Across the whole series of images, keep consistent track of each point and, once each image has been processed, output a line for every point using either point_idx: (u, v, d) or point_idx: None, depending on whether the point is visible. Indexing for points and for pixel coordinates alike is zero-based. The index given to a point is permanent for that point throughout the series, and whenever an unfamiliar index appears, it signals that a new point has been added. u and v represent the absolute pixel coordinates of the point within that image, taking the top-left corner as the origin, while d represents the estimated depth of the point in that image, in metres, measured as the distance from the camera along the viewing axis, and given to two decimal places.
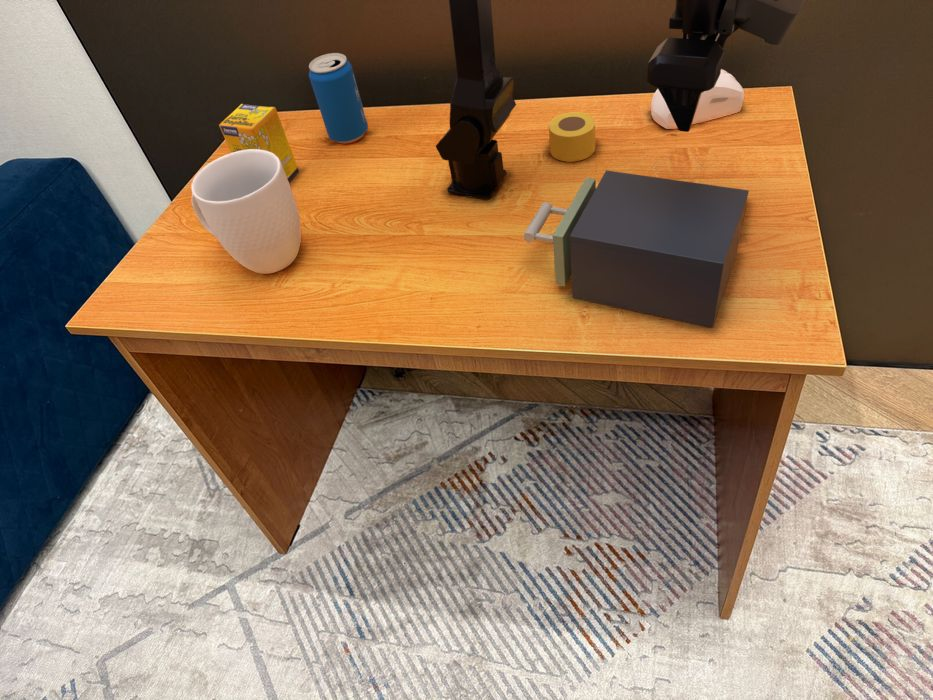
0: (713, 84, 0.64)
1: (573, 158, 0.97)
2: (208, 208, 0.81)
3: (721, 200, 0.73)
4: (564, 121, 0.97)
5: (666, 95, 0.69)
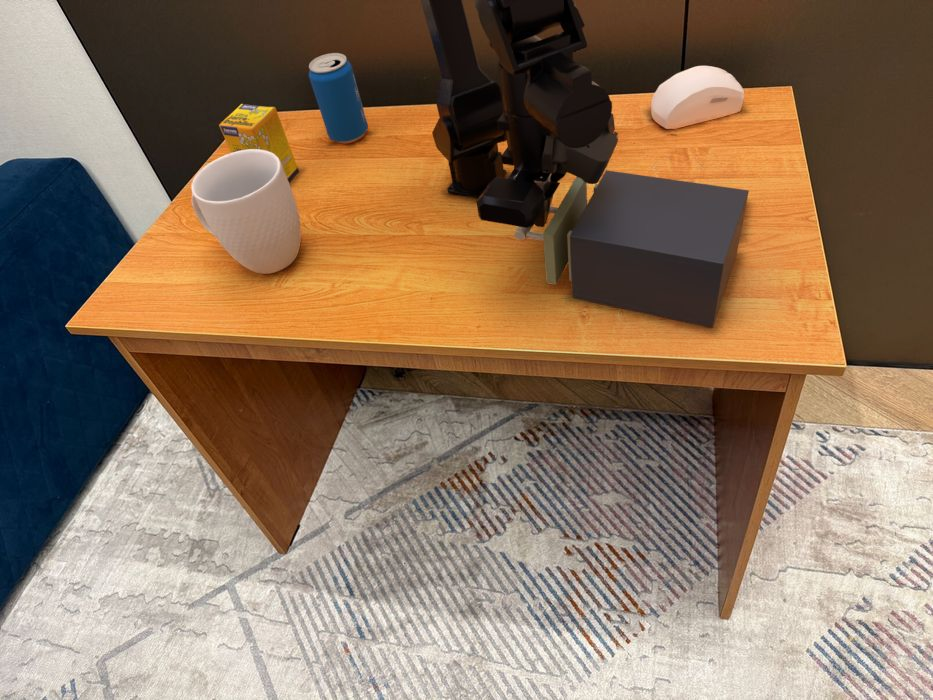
0: (532, 223, 0.70)
1: None
2: (208, 208, 0.81)
3: (721, 200, 0.73)
4: None
5: None
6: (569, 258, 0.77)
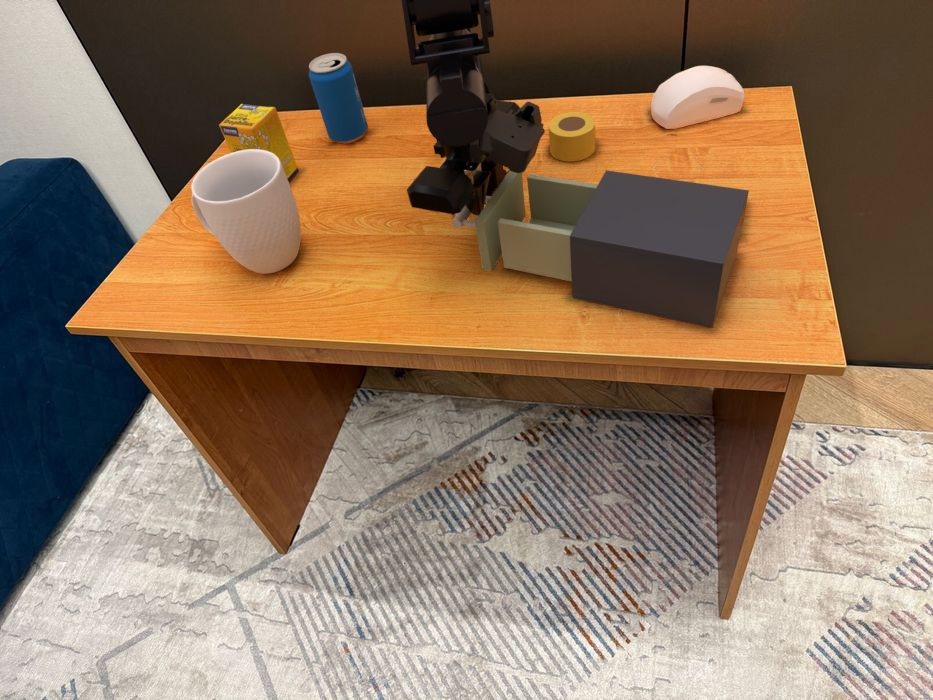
0: (459, 210, 0.73)
1: (573, 158, 0.97)
2: (208, 208, 0.81)
3: (721, 200, 0.73)
4: (564, 121, 0.97)
5: None
6: (501, 245, 0.80)
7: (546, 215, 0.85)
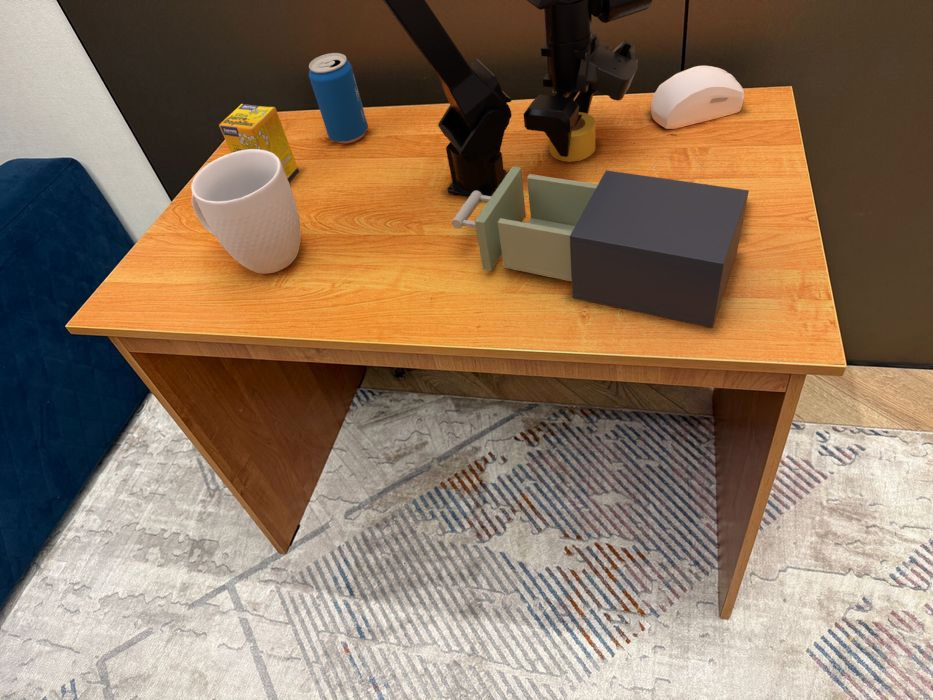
0: (569, 130, 0.87)
1: (573, 158, 0.97)
2: (208, 208, 0.81)
3: (721, 200, 0.73)
4: None
5: None
6: (501, 245, 0.80)
7: (546, 215, 0.85)
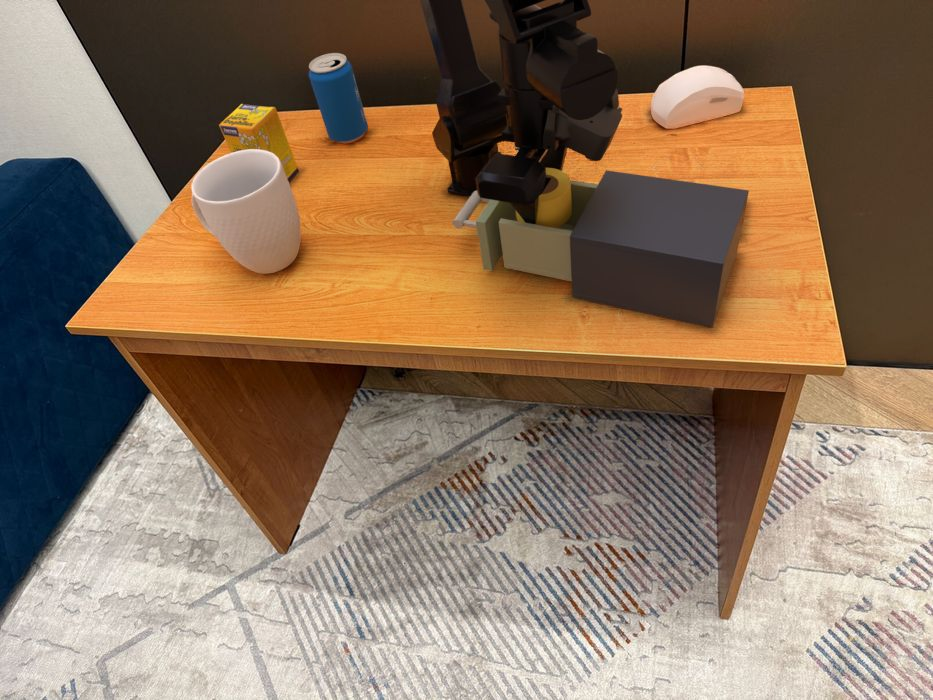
0: (533, 200, 0.68)
1: None
2: (208, 208, 0.81)
3: (721, 200, 0.73)
4: None
5: None
6: (502, 245, 0.80)
7: None
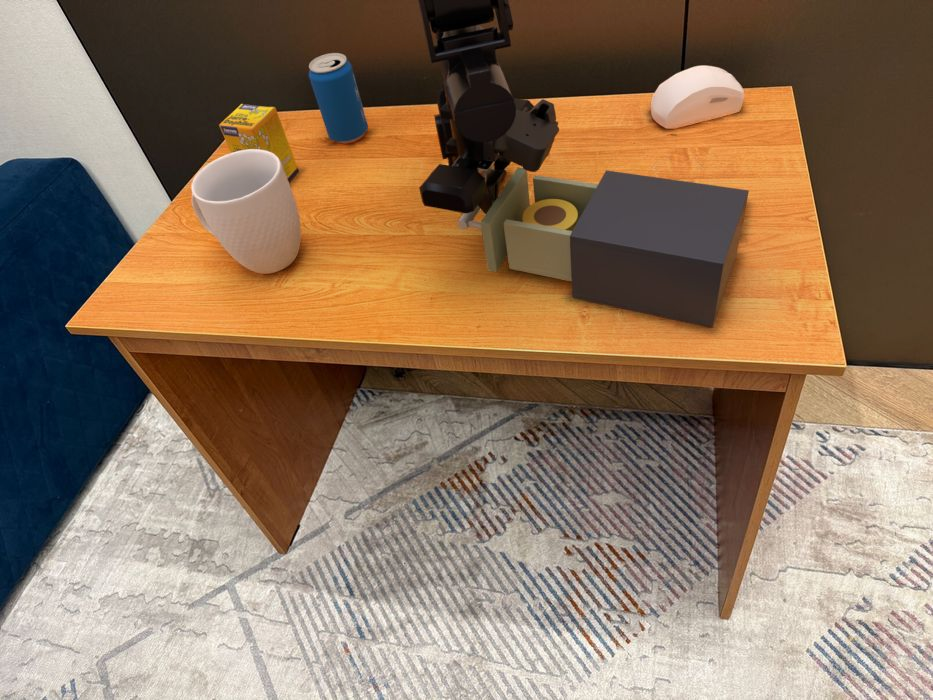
0: (472, 209, 0.72)
1: None
2: (208, 208, 0.81)
3: (721, 200, 0.73)
4: (541, 212, 0.81)
5: None
6: (507, 246, 0.80)
7: None
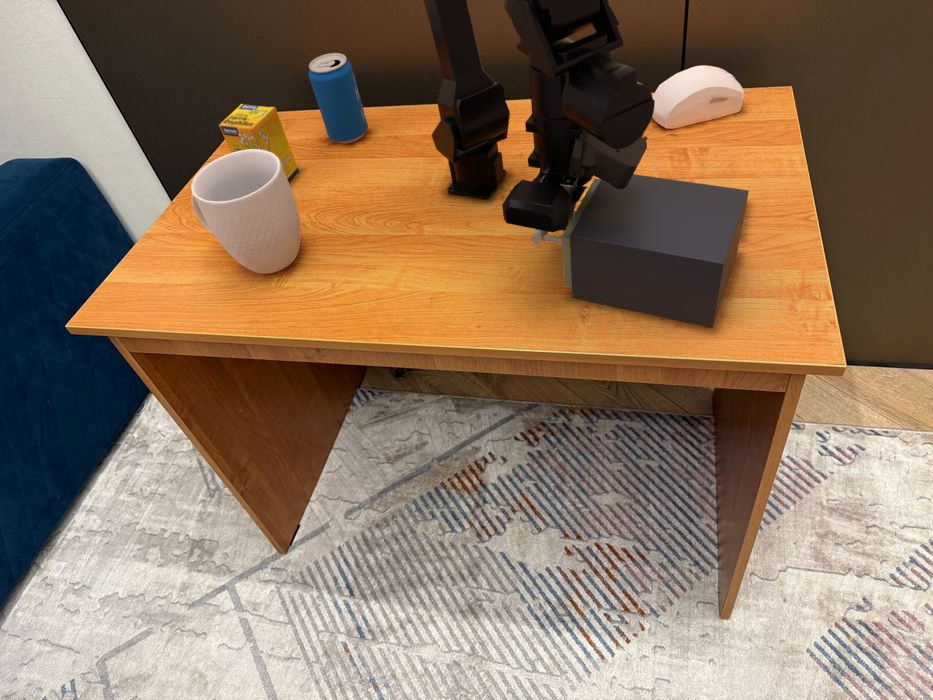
0: (559, 227, 0.69)
1: None
2: (208, 208, 0.81)
3: (721, 200, 0.73)
4: None
5: None
6: None
7: None
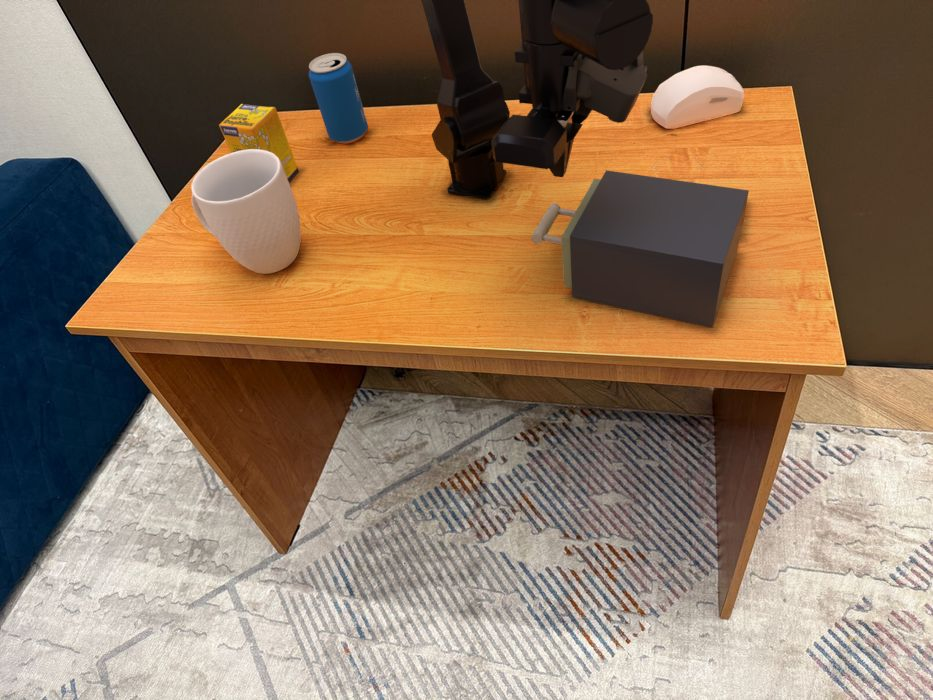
0: (553, 163, 0.63)
1: None
2: (208, 208, 0.81)
3: (721, 200, 0.73)
4: None
5: None
6: None
7: None
